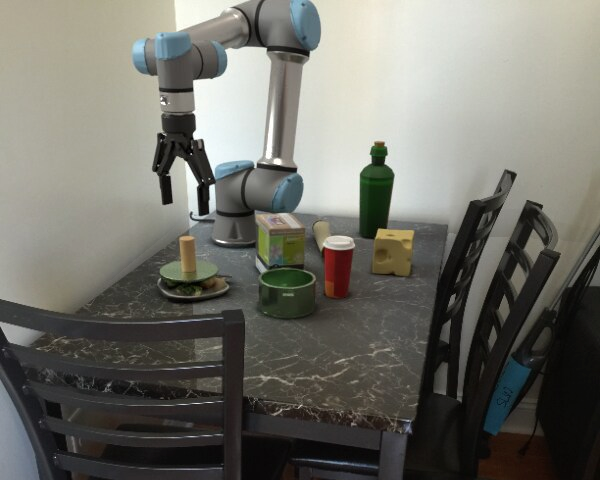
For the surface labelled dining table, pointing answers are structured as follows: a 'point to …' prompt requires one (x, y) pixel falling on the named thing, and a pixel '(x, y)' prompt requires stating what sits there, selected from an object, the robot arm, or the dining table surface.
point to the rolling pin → (321, 234)
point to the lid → (188, 265)
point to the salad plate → (193, 289)
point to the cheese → (393, 252)
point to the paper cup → (338, 265)
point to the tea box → (279, 242)
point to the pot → (287, 293)
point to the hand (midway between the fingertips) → (185, 209)
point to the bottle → (375, 192)
